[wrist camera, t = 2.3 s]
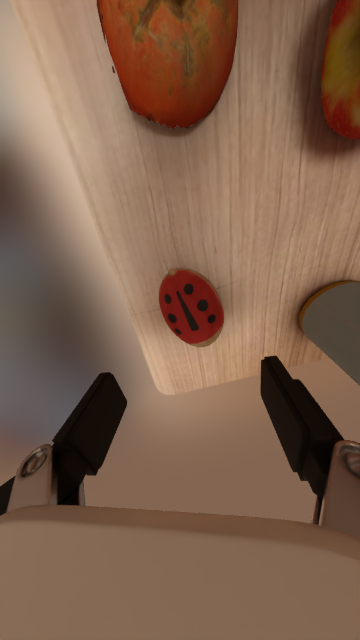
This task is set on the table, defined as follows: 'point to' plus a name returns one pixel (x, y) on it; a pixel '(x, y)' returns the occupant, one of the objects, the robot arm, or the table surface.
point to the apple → (342, 70)
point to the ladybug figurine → (191, 307)
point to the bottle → (336, 324)
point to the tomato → (171, 54)
